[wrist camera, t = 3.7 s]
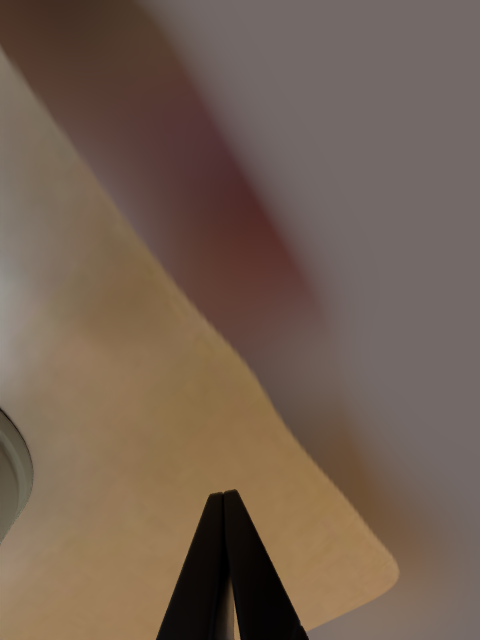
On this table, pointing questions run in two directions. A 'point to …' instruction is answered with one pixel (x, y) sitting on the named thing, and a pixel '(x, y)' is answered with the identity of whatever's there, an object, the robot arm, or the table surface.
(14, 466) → the can
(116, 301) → the table surface
